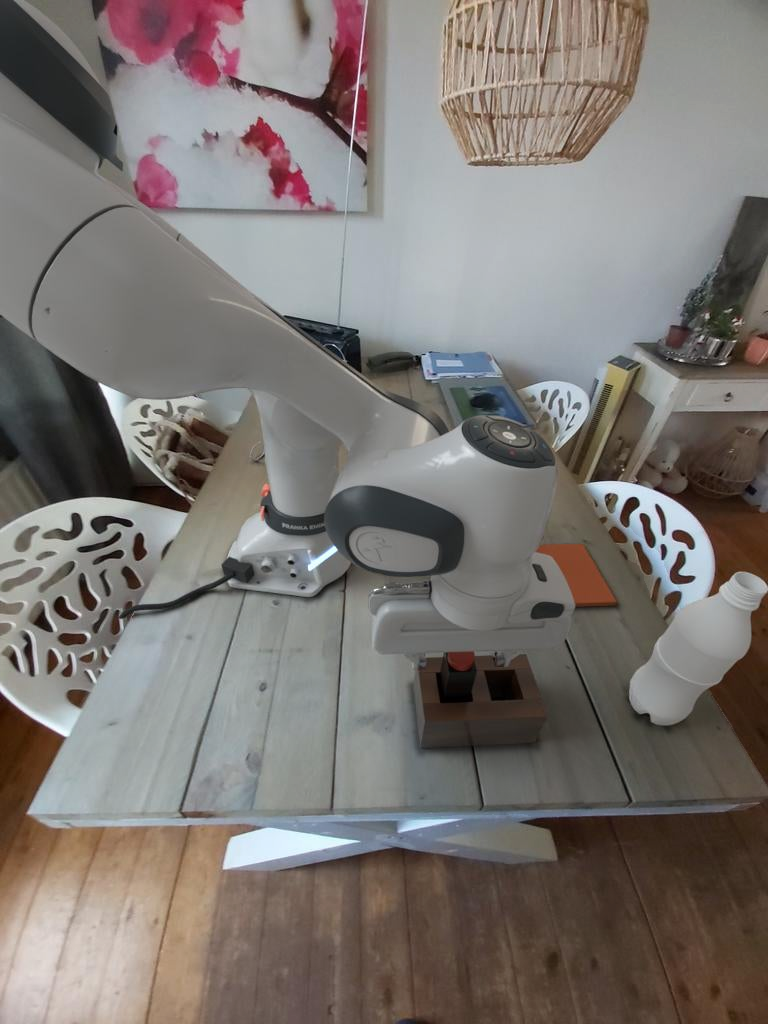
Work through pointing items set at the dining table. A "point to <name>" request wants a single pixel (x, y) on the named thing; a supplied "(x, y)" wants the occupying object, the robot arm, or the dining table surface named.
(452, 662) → the red-capped black post
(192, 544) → the dining table surface
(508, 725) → the holder
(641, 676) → the water bottle
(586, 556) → the mat
